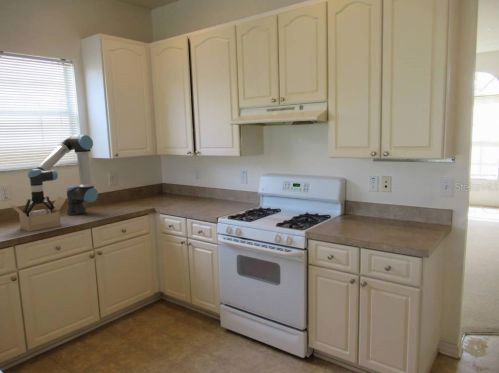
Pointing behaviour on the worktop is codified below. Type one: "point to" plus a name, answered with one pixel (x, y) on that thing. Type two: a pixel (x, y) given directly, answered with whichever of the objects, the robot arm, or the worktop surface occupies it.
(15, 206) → the flap
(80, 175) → the robot arm
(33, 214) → the ink box
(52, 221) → the carton
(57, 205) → the flap
